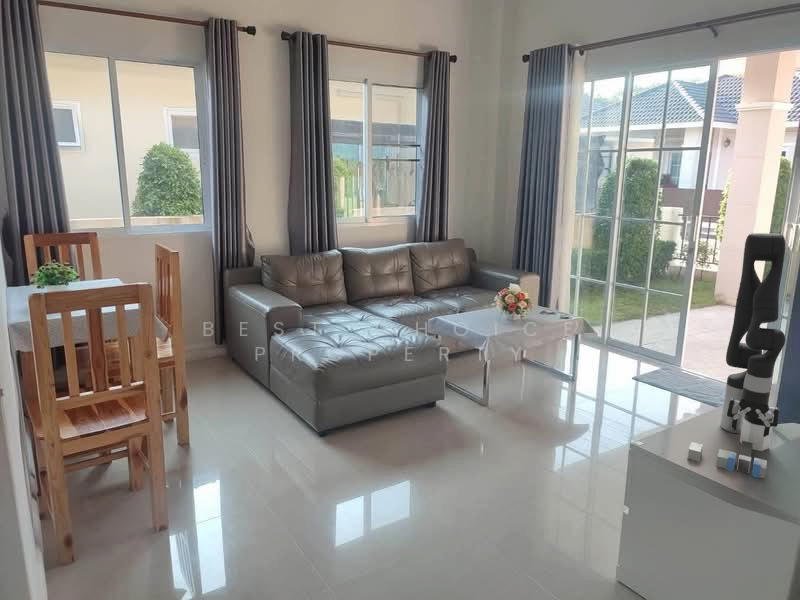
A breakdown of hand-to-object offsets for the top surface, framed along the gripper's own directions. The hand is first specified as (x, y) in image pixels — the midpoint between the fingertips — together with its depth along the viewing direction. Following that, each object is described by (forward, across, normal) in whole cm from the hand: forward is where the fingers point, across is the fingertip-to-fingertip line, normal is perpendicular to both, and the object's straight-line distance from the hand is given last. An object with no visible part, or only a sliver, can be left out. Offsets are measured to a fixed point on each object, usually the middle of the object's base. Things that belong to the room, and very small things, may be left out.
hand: (749, 432), depth 189 cm
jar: (+10, -2, -13) cm, 16 cm away
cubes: (+10, +5, +8) cm, 13 cm away
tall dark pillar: (+10, 0, +2) cm, 10 cm away
